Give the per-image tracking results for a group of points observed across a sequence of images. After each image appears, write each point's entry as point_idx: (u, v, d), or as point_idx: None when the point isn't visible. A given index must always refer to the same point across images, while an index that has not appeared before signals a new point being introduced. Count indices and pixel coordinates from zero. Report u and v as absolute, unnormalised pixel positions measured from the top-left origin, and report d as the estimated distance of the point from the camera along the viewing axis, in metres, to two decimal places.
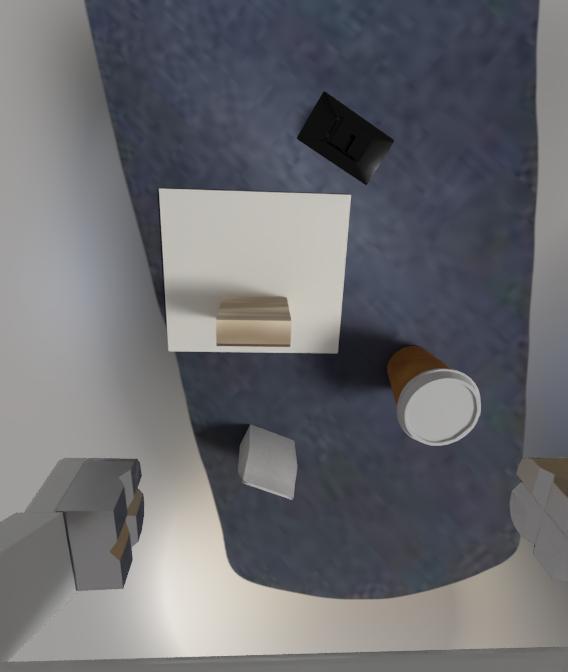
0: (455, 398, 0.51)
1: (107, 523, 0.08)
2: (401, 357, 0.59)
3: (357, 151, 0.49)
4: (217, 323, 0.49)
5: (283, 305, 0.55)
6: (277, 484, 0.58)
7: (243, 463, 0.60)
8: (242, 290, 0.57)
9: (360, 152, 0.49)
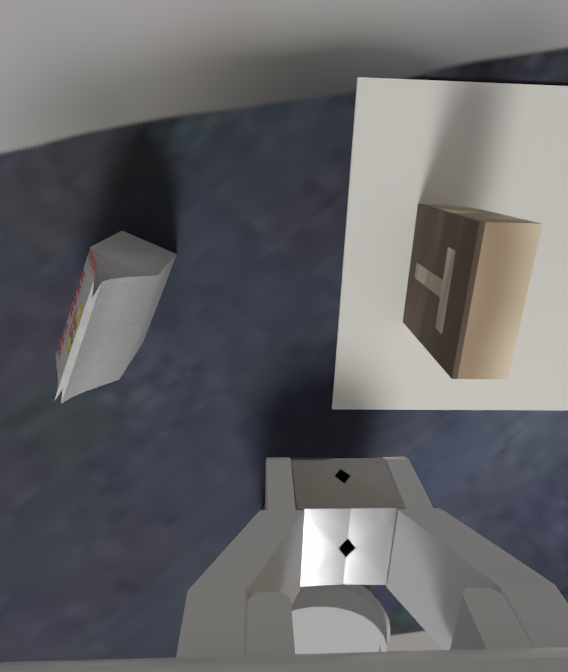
0: None
1: (342, 520, 0.08)
2: None
3: None
4: (533, 226, 0.22)
5: None
6: (87, 357, 0.23)
7: (116, 261, 0.24)
8: None
9: None
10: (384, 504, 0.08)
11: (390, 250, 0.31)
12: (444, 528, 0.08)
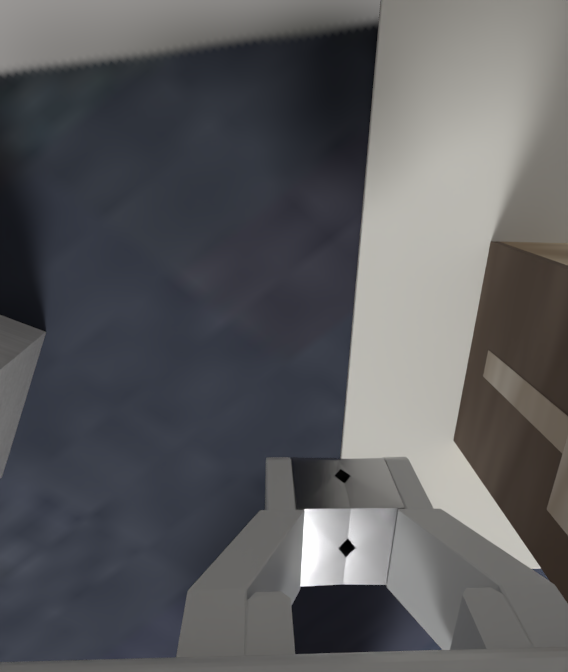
0: None
1: (342, 520, 0.08)
2: None
3: None
4: None
5: None
6: None
7: None
8: None
9: None
10: (384, 504, 0.08)
11: (436, 324, 0.17)
12: (445, 528, 0.08)
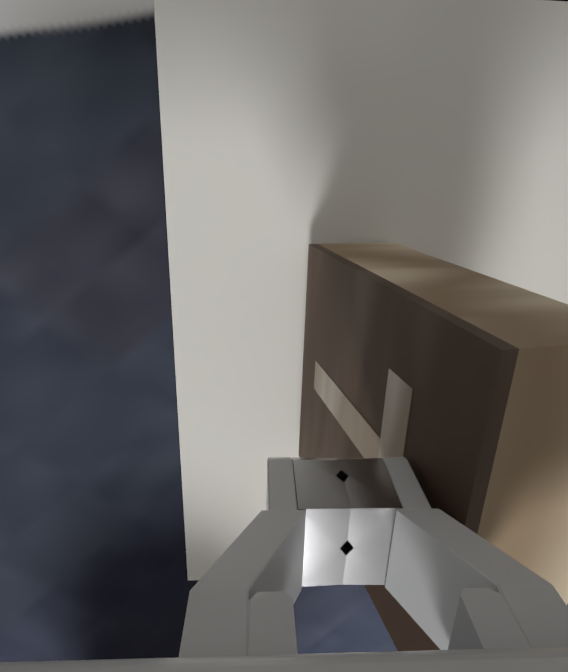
0: None
1: (343, 520, 0.08)
2: None
3: None
4: None
5: None
6: None
7: None
8: None
9: None
10: (382, 504, 0.08)
11: (260, 326, 0.16)
12: (443, 528, 0.08)
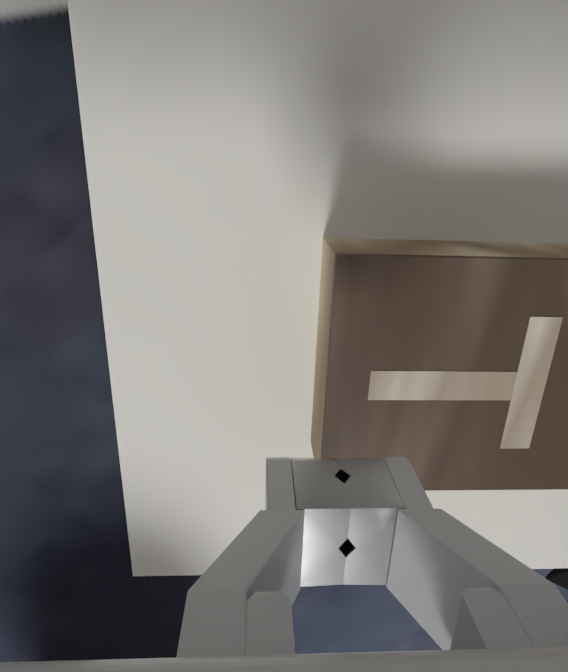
0: None
1: (342, 520, 0.08)
2: None
3: None
4: None
5: None
6: None
7: None
8: None
9: None
10: (384, 504, 0.08)
11: (192, 321, 0.16)
12: (444, 528, 0.08)
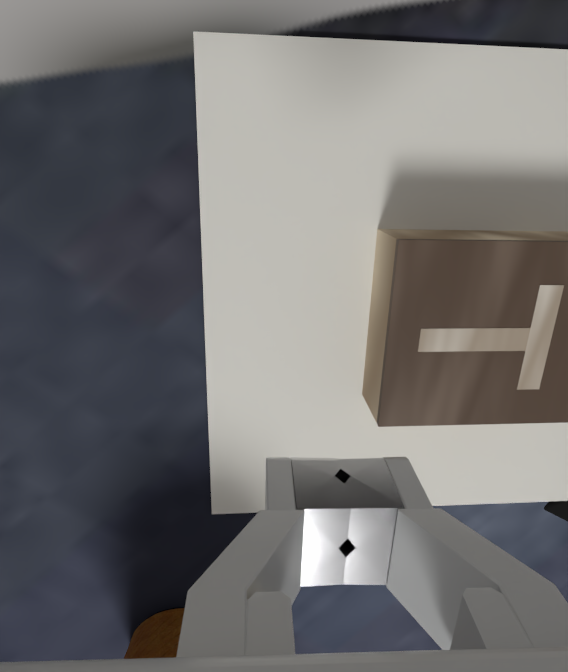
0: None
1: (342, 520, 0.08)
2: None
3: None
4: None
5: None
6: None
7: None
8: None
9: None
10: (384, 504, 0.08)
11: (273, 296, 0.21)
12: (444, 528, 0.08)
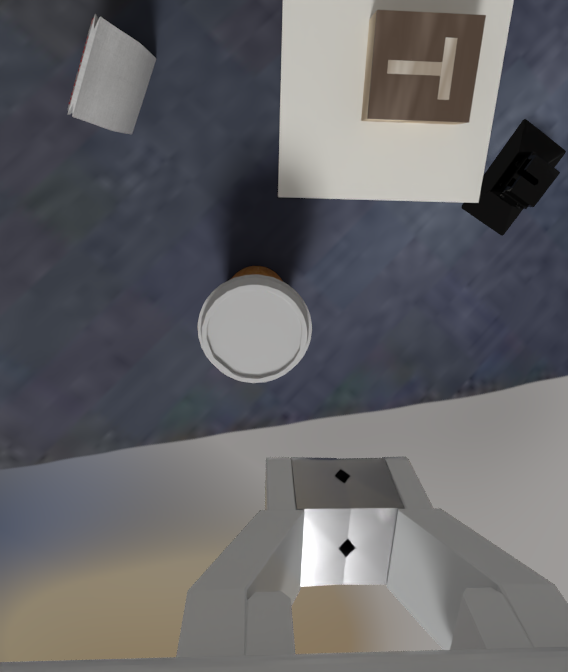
0: (274, 349, 0.39)
1: (342, 520, 0.08)
2: (282, 280, 0.46)
3: (520, 188, 0.42)
4: None
5: None
6: (90, 87, 0.34)
7: None
8: None
9: (518, 192, 0.42)
10: (384, 504, 0.08)
11: (316, 57, 0.41)
12: (445, 528, 0.08)
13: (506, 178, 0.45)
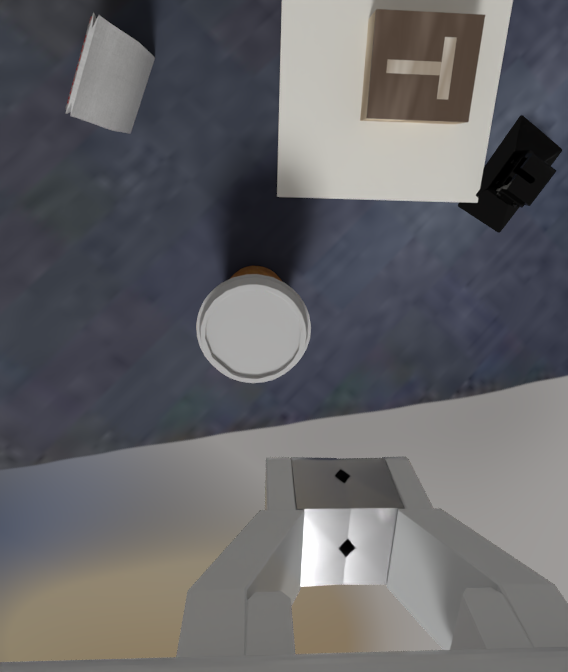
0: (273, 349, 0.39)
1: (342, 520, 0.08)
2: (281, 280, 0.46)
3: (516, 186, 0.42)
4: None
5: None
6: (88, 86, 0.33)
7: None
8: None
9: (514, 190, 0.42)
10: (384, 504, 0.08)
11: (315, 57, 0.41)
12: (445, 528, 0.08)
13: (502, 176, 0.45)
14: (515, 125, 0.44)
